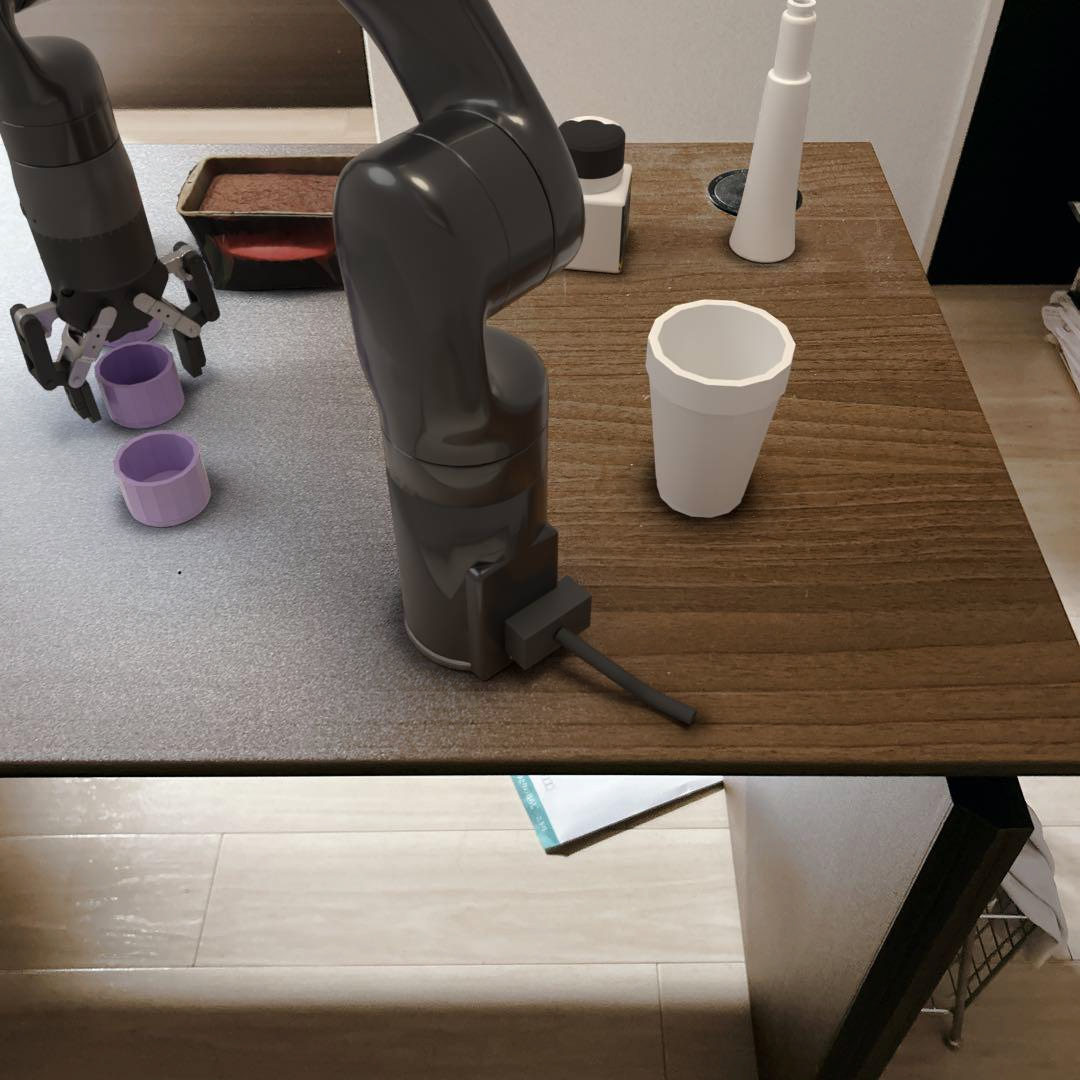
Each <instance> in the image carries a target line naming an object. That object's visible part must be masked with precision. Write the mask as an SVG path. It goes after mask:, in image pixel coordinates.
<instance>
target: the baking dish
mask: <svg viewBox="0 0 1080 1080" xmlns="http://www.w3.org/2000/svg"><path fill="white" fill-rule="evenodd" d="M359 154H360V153H354V154H351V153H350V154H343V153H342V154H341V153H340V154H235V155H234V154H231V155H228V154H227V155H225V154H224V155H223V154H222V155H221V154H219V155H218V154H217V155H212V156H211V155H209V156H206V157H205V158H202V159H201V160H200V161H199V162H197V163H196V164H195V165H194V166H193V167H192V169H191V170H189V172H188V176H187V177H186V181H185V182H184V183H183V184H182V185H181V187H180V192H179V193H177V199H178V200H177V202H176V206H175V209H176V212H177V213H178V214H179V215H180V216H181V218H182V219H183V221H184V222H185V224H186V226H187V228H188V230H189V231H190V233H191V235H192V236H193V238H194V240H195V242H196V245H197V248H198V250H199V253H200V255H201V256H202V257H203V260H204V263H205V266H206V269H207V272H208V274H209V276H210V278H211V280H212V282H213V287H214V289H216V290H223V291H251V290H252V291H255V290H256V291H258V290H259V291H261V290H278V289H279V290H280V289H281V290H282V289H302V288H318V287H319V288H320V287H335V286H344V285H343V280H342V275H341V271H340V266H339V261H338V256H337V250H336V245H335V239H334V229H333V198H334V191H335V187H336V183H337V180H338V177H339V175H340V173H341V171H342V169H343V168H344V167H345V166H346V164H347V163H348V162H349V161H350V160H351V159H353V158H354V157H356V156H357V155H359Z"/></svg>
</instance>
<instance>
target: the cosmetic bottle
mask: <svg viewBox="0 0 1080 1080" xmlns="http://www.w3.org/2000/svg"><path fill="white" fill-rule="evenodd" d="M786 2H787V3H786V9H785V10H784V11H783V12H782V14H781V18H780V26H779V30H778V31H779V32H778V39H777V45H776V51H775V58H774V64H773V67H772V68H771V69H770V70H769V71H768V72H767V76H766V79H765V80H766V81H765V84H764V89H763V94H762V99H761V105H760V108H759V115H758V118H757V119H758V120H757V125H756V129H755V135H754V141H753V146H752V151H751V156H750V161H749V164H748V170H747V175H746V180H745V185H744V190H743V193H742V197H741V200H740V204H739V209H738V212H737V216H736V219H735V222H734V225H733V227H732V232H731V234H730V236H729V241H728V243H729V247H730V248H731V250H732V252H734V253H735V254H736V255H737V256H739V257H740V258H743V259H745V260H748V261H751V262H756V263H764V264H765V263H767V264H769V263H777V262H781V261H783V260H786V259H788V258H789V257H790V256H791V255H792V254H793V253H794V251H795V249H796V213H797V199H798V188H799V179H800V172H801V171H800V170H801V164H802V157H803V156H802V155H803V149H804V143H805V142H804V141H805V133H806V126H807V119H808V112H809V111H808V110H809V104H810V95H811V86H812V74H811V73H810V72H809V67H810V60H811V54H812V48H813V43H814V38H815V37H814V36H815V33H816V32H815V31H816V24H817V21H818V18H817V13H816V11H814V10H815V9H816V6H817V1H816V0H787V1H786Z"/></svg>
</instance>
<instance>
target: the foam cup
mask: <svg viewBox="0 0 1080 1080" xmlns="http://www.w3.org/2000/svg"><path fill="white" fill-rule="evenodd" d="M646 343H647V345H646V355H645V366H644V367H645V369H646V372H647V376H648V380H649V393H650V409H651V411H650V412H651V424H652V438H653V440H652V441H653V453H654V455H653V456H654V469H655V479H656V487H657V490H658V494H659V496H660V499H661V500H662V501H663V502H665V503H666V504H667V506H668V507H670V508H671V509H672V510H674V511H676V512H679V513H681V514H684V515H687V516H689V517H692V518H693V517H696V518H714V517H718V516H722V515H725V514H729V513H730V512H731V511H732V510H734V509H735V508H736V507H737V506H739V505H740V504H741V503H742V499H743V497H744V495H745V492H746V491H747V487H748V484H749V481H750V479H751V476H752V474H753V471H754V469H755V465H756V463H757V460H758V458H759V454H760V452H761V449H762V447H763V444H764V441H765V438H766V436H767V433H768V431H769V427H770V425H771V423H772V419H773V417H774V415H775V411H776V409H777V406H778V403H779V401H780V397H782V396H783V395H784V394H785V393H786V389H787V385H788V381H789V378H790V374H791V369H792V364H793V360H794V355H795V349H796V342H795V340H794V338H793V337H792V335H791V333H790V330H789V328H788V327H787V325H786V324H784V323H783V322H782V321H780V320H779V319H778V318H776V317H775V316H773V315H772V314H770V313H769V312H767V311H766V310H765V309H763V308H759V307H756V306H752V305H749V304H746V303H743V302H740V301H736V300H723V299H704V298H703V299H699V300H694V301H690V302H685V303H681V304H677V305H674V306H673V307H671V308H670V309H668V310H667V311H666V312H663V314H661V315H659V316H658V317H656V318H655V319H654V321H653V324H652V326H651V329H650V332H649V334H648V336H647V342H646Z"/></svg>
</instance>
